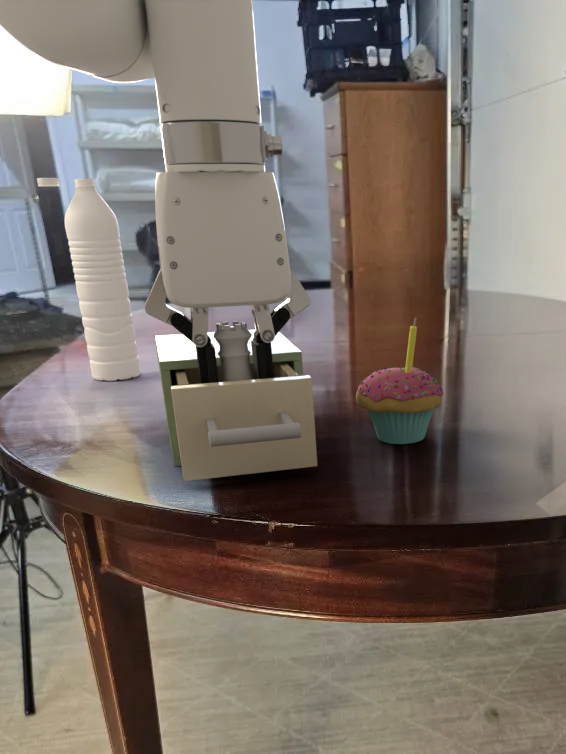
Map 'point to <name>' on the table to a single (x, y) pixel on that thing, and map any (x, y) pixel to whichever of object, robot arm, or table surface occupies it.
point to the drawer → (244, 423)
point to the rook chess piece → (233, 351)
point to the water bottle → (100, 283)
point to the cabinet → (183, 356)
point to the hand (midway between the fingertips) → (237, 387)
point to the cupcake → (400, 399)
